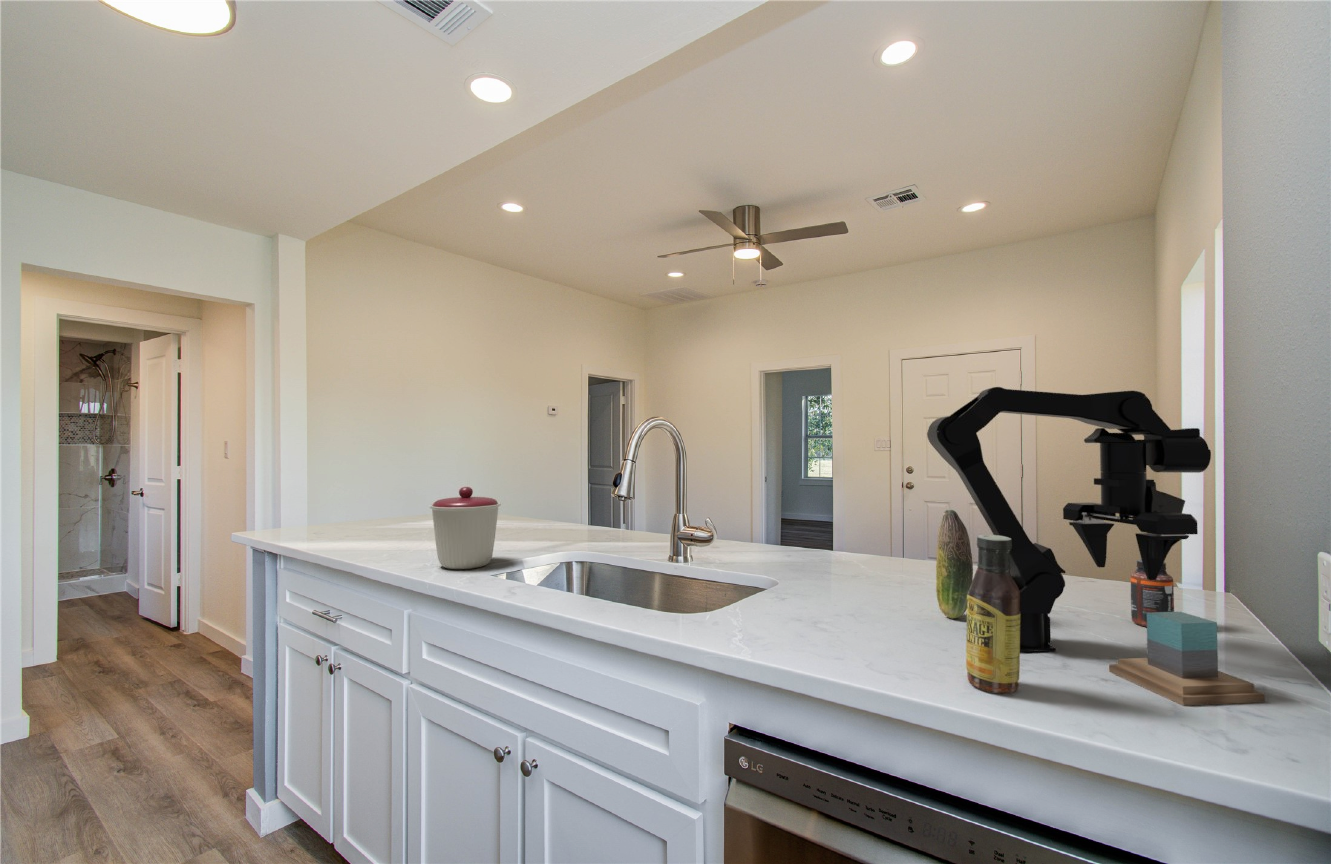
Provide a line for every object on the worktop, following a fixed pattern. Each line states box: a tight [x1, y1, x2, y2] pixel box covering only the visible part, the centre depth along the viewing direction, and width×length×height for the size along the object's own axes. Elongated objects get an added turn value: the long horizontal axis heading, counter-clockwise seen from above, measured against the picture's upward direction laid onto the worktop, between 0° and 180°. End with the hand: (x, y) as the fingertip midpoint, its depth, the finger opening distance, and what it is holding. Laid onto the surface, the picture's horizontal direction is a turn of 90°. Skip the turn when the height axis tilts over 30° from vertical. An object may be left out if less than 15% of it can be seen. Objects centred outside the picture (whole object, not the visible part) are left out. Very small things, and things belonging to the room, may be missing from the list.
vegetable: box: [935, 509, 974, 619], centre depth 111 cm, size 6×6×20 cm
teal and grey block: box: [1146, 611, 1219, 679], centre depth 79 cm, size 5×5×7 cm
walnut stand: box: [1108, 657, 1266, 706], centre depth 79 cm, size 11×11×2 cm
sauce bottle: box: [965, 534, 1021, 694], centre depth 79 cm, size 7×6×20 cm
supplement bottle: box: [1129, 558, 1175, 628], centre depth 106 cm, size 6×6×11 cm
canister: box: [428, 486, 501, 570], centre depth 160 cm, size 18×18×21 cm
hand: (1125, 573), depth 93 cm, fingers open, 9 cm apart
